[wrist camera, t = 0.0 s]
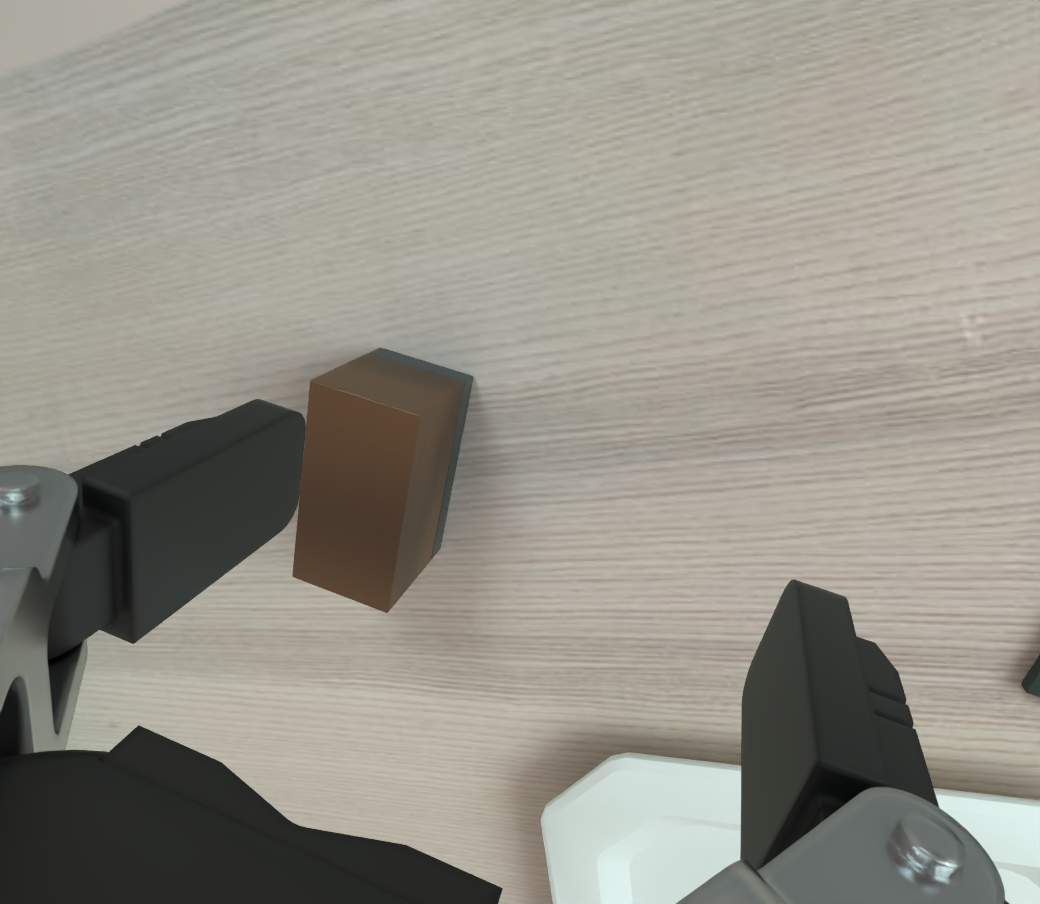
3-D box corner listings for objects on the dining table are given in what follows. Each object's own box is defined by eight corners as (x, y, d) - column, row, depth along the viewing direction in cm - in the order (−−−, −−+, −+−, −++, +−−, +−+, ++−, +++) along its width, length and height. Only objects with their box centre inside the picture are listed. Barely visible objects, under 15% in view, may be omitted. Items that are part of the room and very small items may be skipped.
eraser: (380, 346, 28) (309, 379, 23) (474, 376, 27) (420, 415, 23) (357, 519, 31) (291, 577, 27) (440, 549, 30) (387, 613, 26)
